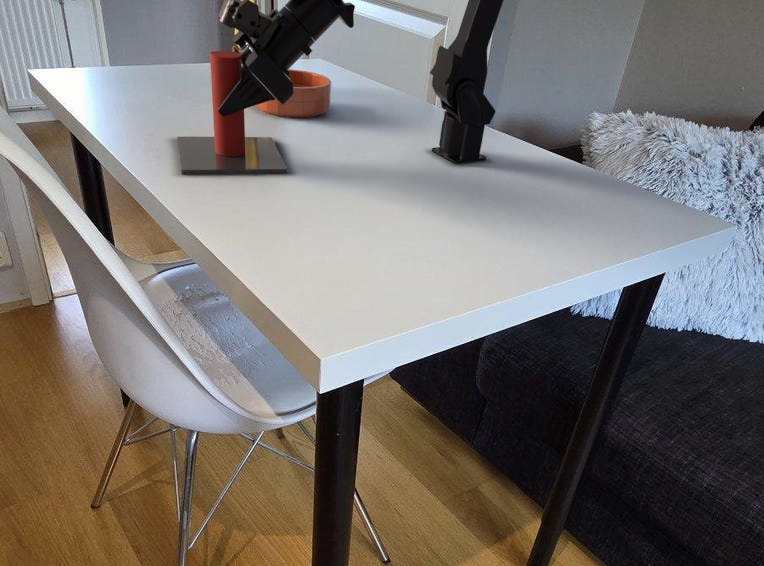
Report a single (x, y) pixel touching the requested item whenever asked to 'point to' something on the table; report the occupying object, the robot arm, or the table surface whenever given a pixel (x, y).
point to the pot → (302, 96)
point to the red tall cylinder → (223, 79)
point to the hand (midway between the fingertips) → (218, 108)
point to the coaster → (204, 159)
